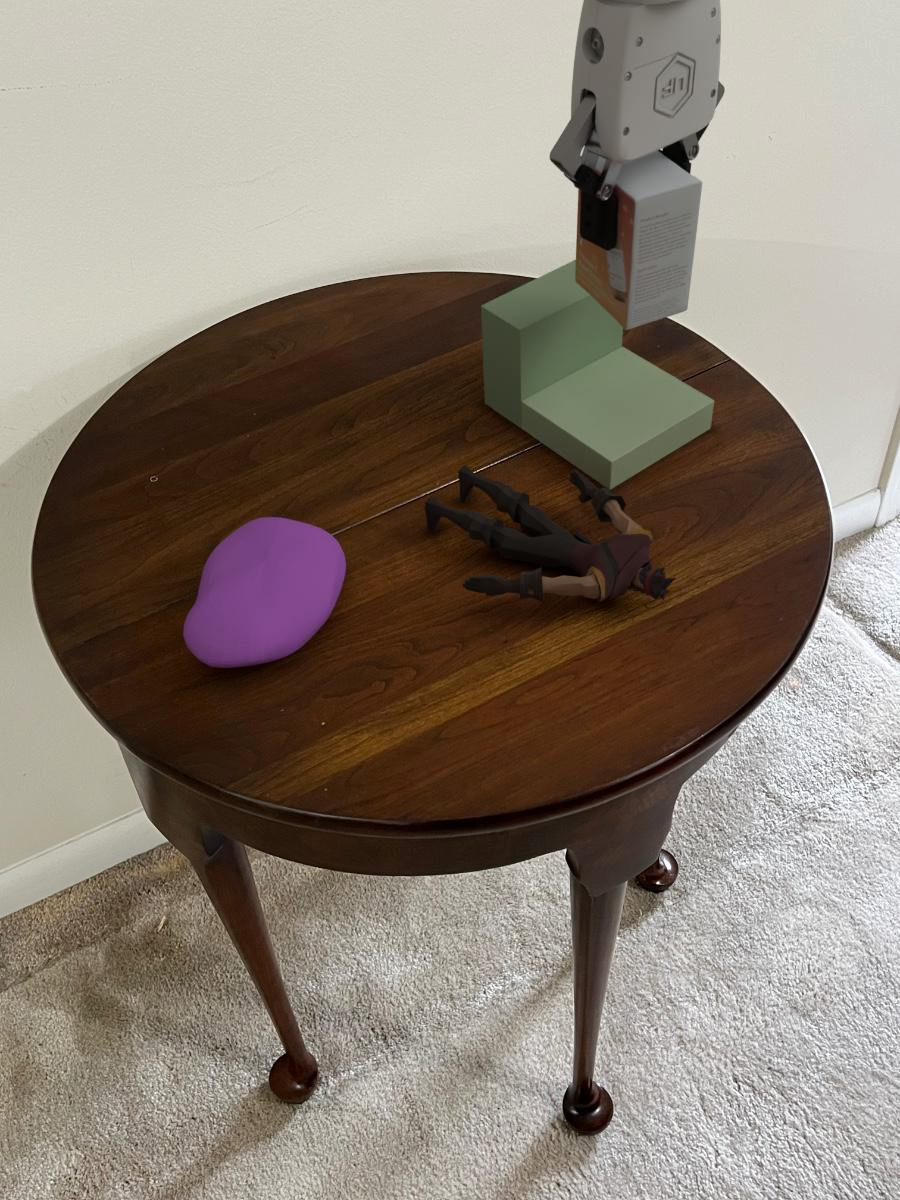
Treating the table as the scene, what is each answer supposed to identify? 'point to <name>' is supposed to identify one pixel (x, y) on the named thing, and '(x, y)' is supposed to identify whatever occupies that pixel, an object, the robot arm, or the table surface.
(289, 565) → the blob
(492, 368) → the green l-shaped step
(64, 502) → the table surface
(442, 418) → the table surface
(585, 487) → the figurine
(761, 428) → the table surface
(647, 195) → the small box
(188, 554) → the table surface
